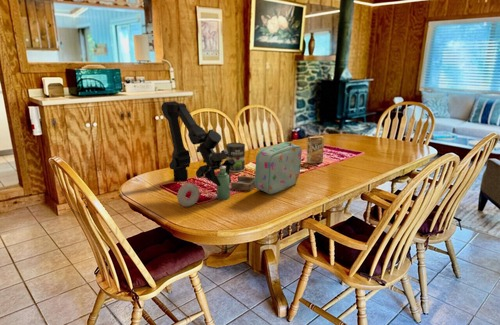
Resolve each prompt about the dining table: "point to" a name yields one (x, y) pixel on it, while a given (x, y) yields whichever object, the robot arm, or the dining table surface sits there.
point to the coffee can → (236, 156)
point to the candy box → (315, 149)
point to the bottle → (223, 184)
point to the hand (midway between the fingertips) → (225, 184)
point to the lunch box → (277, 167)
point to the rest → (244, 183)
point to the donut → (193, 197)
